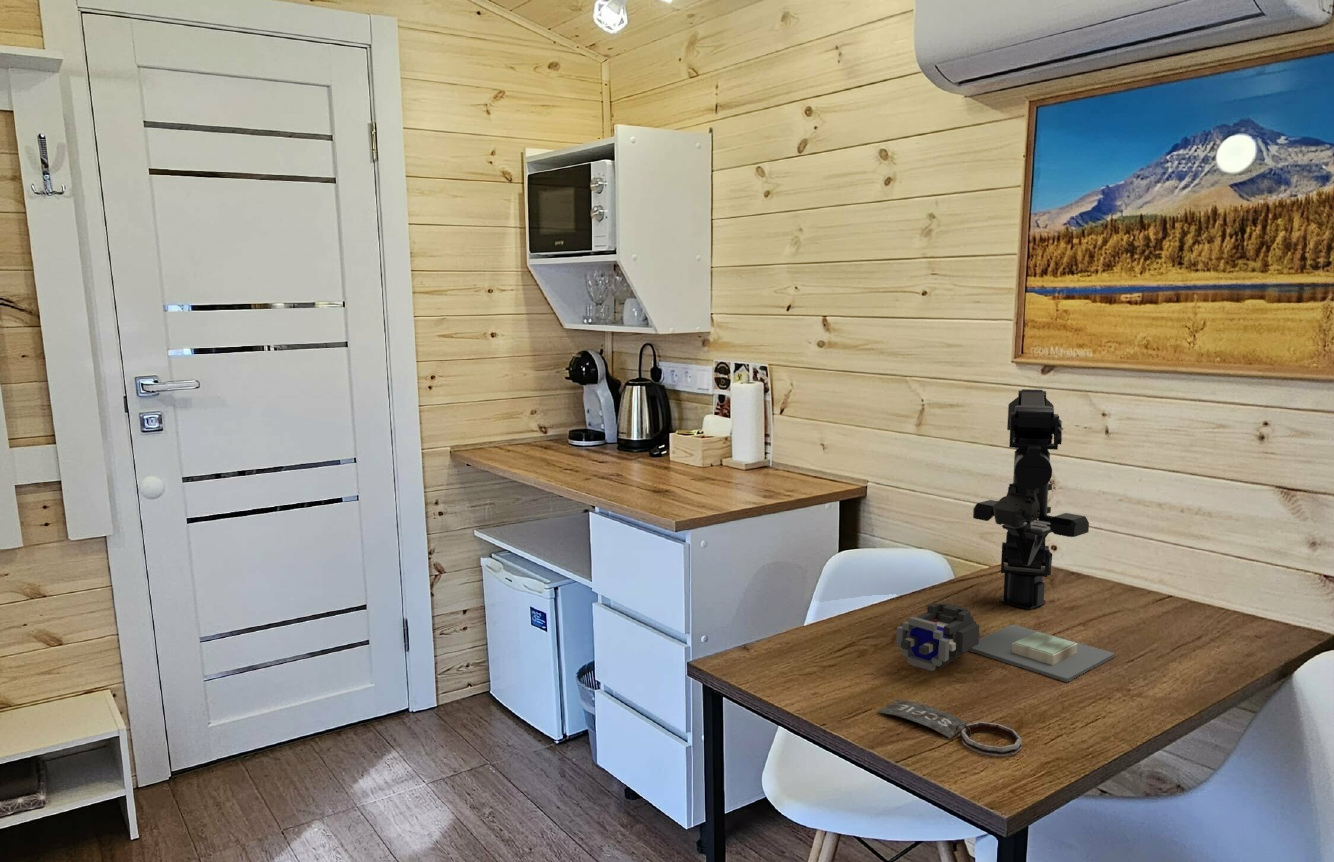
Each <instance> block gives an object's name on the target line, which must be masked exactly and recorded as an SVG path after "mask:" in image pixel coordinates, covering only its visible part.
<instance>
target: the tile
mask: <svg viewBox="0 0 1334 862" xmlns="http://www.w3.org/2000/svg"><path fill="white" fill-rule="evenodd" d="M1040 632H1041V631H1038V632H1036V633H1034V634H1031V635H1029V636H1027V637H1025V638H1023V639H1020V640H1018V641H1016V642H1014V643H1012V653H1015V654H1018V655H1022V656H1025V657H1028V658H1031V659H1034V660H1038V661H1041V662H1044V663H1047V664H1050V665H1054V664H1056V663H1058V662H1060V661H1062V660H1064V659H1066V658H1068V657H1070V656H1072V655H1074V654H1076V653H1077V645H1078V644H1077V643H1078V642H1077V643H1075V642H1076V641H1073V640H1070V641H1068V640H1069V639H1066V640H1065V638H1063V639H1061V638H1062V637H1059V636H1056V637H1054V636H1055V635H1052V634H1049V635H1047V634H1048V633H1045V634H1044V632H1042V633H1040ZM1051 635H1052V636H1051ZM1058 637H1059V638H1058ZM1072 641H1073V642H1072Z"/></svg>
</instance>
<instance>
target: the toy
mask: <svg viewBox="0 0 1334 862" xmlns="http://www.w3.org/2000/svg"><path fill="white" fill-rule="evenodd" d="M971 614H972V613H971V611H970V610H969V611H968V608H966V607H962V606H958V605H954V604H950V603H946V602H942V603H938V602H933V603H930V604H928V605H927V610H926V612H923V613H921V614H920V615H917V616H910V617H909V618H908V620H907V621H903V622H902V625H900V626H897V627H896V634H895V635H896V637H895V638H896V641H895V648H900V649H901V656H903V657H906V658H907V664H909V665H910V666H911V665H912V666H914V667H918V668H921V669H924V670H927V671H930V672H933V671H934V670H936V668H938V669H941V668H942V667H944V666H946V665H947V664H949V663H951V662H954V660H957V658H959V657H961V656H962V655H965V654H966V653H967V652H968V650H970V649H972V647H974V646H976V645H977V644H979V638H980V624H978V623H977V621H975V620H974V616H972V615H971Z"/></svg>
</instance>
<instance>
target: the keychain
mask: <svg viewBox="0 0 1334 862" xmlns="http://www.w3.org/2000/svg"><path fill="white" fill-rule="evenodd" d="M876 713H877V714H878V715H880V716H882V717H886V716H895V717H899V718H902V719H905V720H909V721H911V722H914V723H916V724H919V725H922V726H925V727H927V728H929V729H932V730H934V731H936V732H938V733H939V734H941V738H943V739H947V740H951V739H953V738H954V737H956V736H957V735H958V734H959V736H960V740H961V742H962V745H963V746H965V747H967V748H968V749H970V750H971V751H973V752H975V753H977V754H980V755H981V754H982V755H985V756H991V757H995V758H999V757H1000V758H1001V757H1008V756H1010V757H1011V756H1015V755H1016V754H1018V752H1020V751H1021V750H1022V749H1023V746H1022V743H1023V739H1022V737H1021V736H1020V734H1019V733H1017V732H1016V731H1015V729H1013V728H1010V727H1008V726H1005V725H1002V724H1000V723H994V722H987V721H976V722H972V723H969V722H967V721H965V720H964V719H961V718H959V717H957V716H955V715H954V714H952V713H949V712H947V711H943V710H941V709H938V708H935V707H932V706H929V705H926V704H922V703H919V702H915V701H910V700H905V699H904V700H903V699H896V700H895V701H893V702H891V703H890V704H888V705H886V706H885V707H883V708H881V709H880V710H878V711H877V712H876ZM979 732H980V733H981V732H989V733H993V734H998V735H1002V736H1004V737H1006V738H1008V739H1010V740H1012V741H1013V742H1014V744H1009V745H1005V746H1004V745H1003V746H996V745H988V744H982V743H980V742H977V741H975V740H973V739H971V738H970V737H969V736H971V734H972V733H979Z"/></svg>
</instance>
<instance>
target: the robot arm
mask: <svg viewBox="0 0 1334 862" xmlns="http://www.w3.org/2000/svg"><path fill="white" fill-rule="evenodd" d="M1017 394H1018V396H1017V397H1016V398H1015V399H1013V400H1012V401H1011V402H1010V403H1008V407H1007V409H1008V410H1007V428H1006V429H1007V431H1009V445H1008V446H1009V448H1011V449H1012V448H1013V449H1015V450H1014V458H1013V459H1014V461H1013V481H1012V483H1009V484H1008V487H1007V493H1006V495H1004V496H1003V497H1001V498H1000V499H999V500H995V499H994V500H993V499H988V500H985V501H981V502H977V503H976V504H975V505H974V507H973V509H972V518H973V519H974V520H979V521H985V522H988V521H990V520H992V519H993V517H994V522H995V524H997V525H1001V527H1002V529H1004V530H1007V531H1006V537H1005V538H1006V539H1005V542H1004V541H1002V542H1001V560H1000V562H1001V563H1000V574H1003V575H1004V576H1003V577H1004V578H1003V579H1004V580H1003V597H1001V598H998V602H999V603H1002V604H1006V605H1010V606H1014V607H1017V608H1020V609H1025V610H1028V611H1030V610H1032V609H1035V608H1038V607H1040V606H1043V605H1045V604H1046V600H1045V585H1046V584H1045V582H1044V581H1043V579H1044V578H1048V576H1051V574H1052V564H1053V563H1052V562H1053V553H1052V552H1051V549H1050V546H1049V545H1046V539H1047V536H1048V535H1049V534H1051V533H1052V534H1054V535H1057V536H1063V537H1068V538H1075V537H1078V536H1081V535H1085V534H1087V533H1089V529H1090V522H1089V520H1088V518H1087V517H1086V516H1085V515H1080V514H1073V513H1068V512H1065V513H1061V514H1058V515H1048V514H1051V510H1052V507H1051V506H1048V501H1049V498H1048V497H1049V491H1053V483H1049V482H1050V481H1051V479H1052V477H1053V467H1052V464H1051V453H1050V451H1049V450H1054V451H1055V450H1058V449H1059V445H1062V441H1063V439H1062V438H1063V437H1062V435H1063V433H1062V432H1063V431H1062V430H1063V427H1062V424H1063V423H1062V422H1063V421H1062V420H1061V419H1060V415H1059V414H1058V413H1055V408H1054V407H1055V406H1054V404H1053V403H1052V402H1050V401H1049V400H1048V399H1047V391H1046V390H1043V389H1027V388H1026V389H1025V388H1024V389H1021V390H1018V393H1017Z"/></svg>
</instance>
